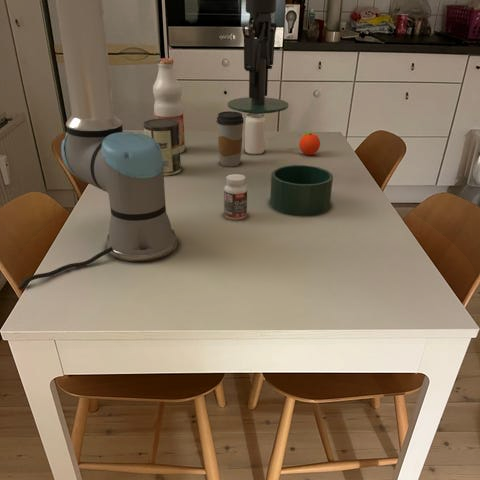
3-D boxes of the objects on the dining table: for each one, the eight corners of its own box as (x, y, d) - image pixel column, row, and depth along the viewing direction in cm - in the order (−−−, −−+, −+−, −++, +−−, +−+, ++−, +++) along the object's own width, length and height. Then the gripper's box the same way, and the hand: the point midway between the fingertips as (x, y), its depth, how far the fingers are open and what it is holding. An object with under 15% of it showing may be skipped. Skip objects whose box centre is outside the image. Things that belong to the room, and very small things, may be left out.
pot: (323, 219, 128) (327, 188, 123) (263, 211, 132) (264, 181, 127) (333, 197, 140) (337, 168, 136) (278, 190, 144) (279, 162, 139)
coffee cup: (248, 162, 164) (249, 113, 156) (234, 169, 159) (234, 118, 150) (226, 157, 168) (226, 109, 160) (211, 164, 162) (210, 114, 154)
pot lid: (280, 117, 132) (282, 65, 125) (219, 112, 136) (218, 61, 129) (294, 104, 145) (297, 56, 138) (238, 99, 149) (238, 52, 142)
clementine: (291, 154, 172) (293, 132, 168) (301, 149, 177) (303, 128, 173) (312, 159, 168) (315, 136, 164) (322, 153, 173) (324, 132, 169)
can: (264, 155, 171) (265, 117, 164) (244, 154, 171) (245, 117, 164) (263, 149, 177) (265, 112, 170) (244, 149, 177) (245, 112, 170)
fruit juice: (151, 151, 173) (143, 59, 157) (171, 145, 179) (166, 56, 163) (170, 156, 168) (164, 62, 153) (190, 150, 174) (186, 59, 158)
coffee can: (171, 163, 163) (168, 116, 155) (187, 172, 156) (185, 124, 148) (141, 168, 158) (137, 121, 150) (156, 178, 151) (152, 128, 143)
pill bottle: (237, 222, 126) (237, 182, 120) (219, 216, 129) (219, 177, 123) (251, 215, 130) (252, 176, 124) (233, 209, 133) (233, 171, 127)
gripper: (256, -5, 118) (253, 104, 131) (290, -7, 129) (285, 93, 143) (229, -6, 121) (229, 100, 134) (264, -8, 133) (261, 90, 146)
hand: (258, 96), depth 139 cm, fingers closed on pot lid, 4 cm apart
